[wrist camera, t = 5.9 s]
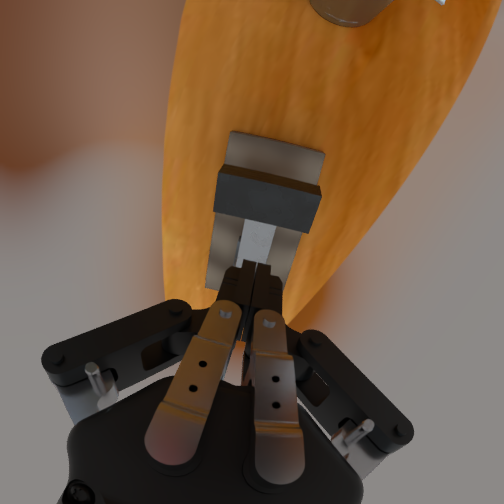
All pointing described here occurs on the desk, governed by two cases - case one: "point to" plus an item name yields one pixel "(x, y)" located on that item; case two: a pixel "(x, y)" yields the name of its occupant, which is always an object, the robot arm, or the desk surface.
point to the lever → (264, 207)
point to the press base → (230, 227)
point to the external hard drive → (440, 1)
